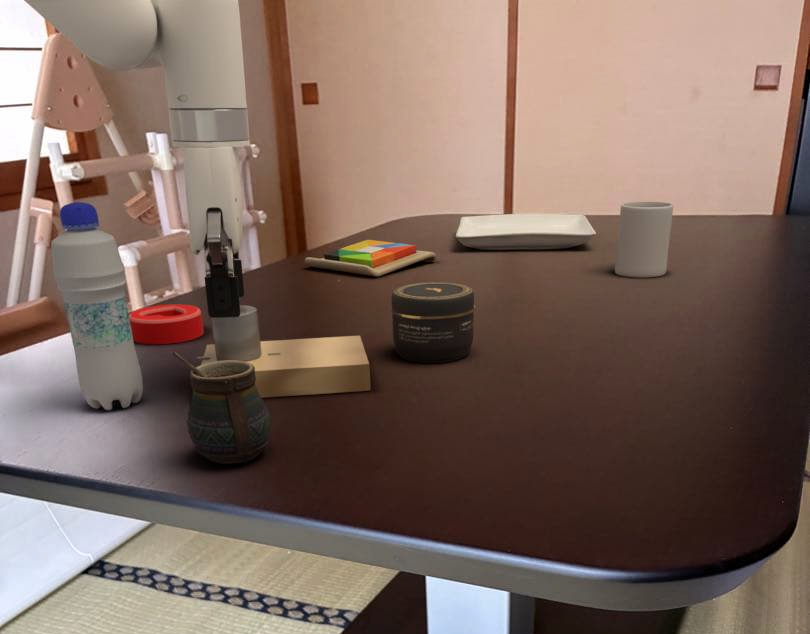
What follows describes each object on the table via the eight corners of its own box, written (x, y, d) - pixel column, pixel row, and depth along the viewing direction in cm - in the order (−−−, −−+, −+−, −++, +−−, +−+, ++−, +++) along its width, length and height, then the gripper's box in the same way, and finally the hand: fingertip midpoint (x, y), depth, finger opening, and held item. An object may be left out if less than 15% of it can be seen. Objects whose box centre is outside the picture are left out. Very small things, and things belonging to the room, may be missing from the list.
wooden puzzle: (302, 268, 155) (300, 249, 153) (371, 254, 167) (370, 235, 166) (371, 279, 145) (370, 258, 143) (439, 262, 157) (439, 242, 156)
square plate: (460, 232, 189) (461, 214, 188) (583, 231, 187) (584, 212, 185) (455, 253, 166) (455, 232, 164) (595, 251, 163) (597, 230, 161)
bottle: (128, 389, 93) (92, 196, 84) (159, 402, 89) (124, 200, 80) (71, 404, 89) (26, 203, 80) (101, 418, 85) (56, 208, 75)
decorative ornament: (203, 324, 119) (200, 301, 118) (204, 340, 111) (201, 316, 110) (133, 329, 118) (129, 306, 116) (129, 346, 109) (125, 322, 108)
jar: (418, 339, 109) (417, 278, 105) (487, 347, 104) (489, 285, 101) (377, 358, 101) (374, 294, 98) (450, 369, 97) (450, 302, 93)
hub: (261, 360, 91) (256, 311, 89) (214, 363, 91) (208, 314, 88) (262, 348, 95) (257, 301, 93) (217, 351, 95) (211, 303, 92)
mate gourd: (287, 459, 74) (276, 348, 69) (204, 479, 71) (187, 363, 66) (256, 435, 80) (244, 330, 75) (178, 452, 76) (160, 343, 72)
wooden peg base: (196, 402, 89) (191, 373, 87) (205, 369, 99) (201, 343, 98) (370, 390, 91) (369, 362, 89) (361, 360, 101) (360, 334, 100)
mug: (668, 277, 139) (677, 207, 134) (616, 277, 140) (622, 207, 135) (660, 264, 150) (667, 198, 144) (611, 264, 151) (617, 199, 146)
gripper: (180, 127, 89) (199, 291, 97) (159, 133, 74) (183, 326, 82) (251, 127, 90) (264, 289, 98) (245, 133, 75) (260, 324, 83)
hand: (227, 306), depth 90 cm, fingers open, 9 cm apart
